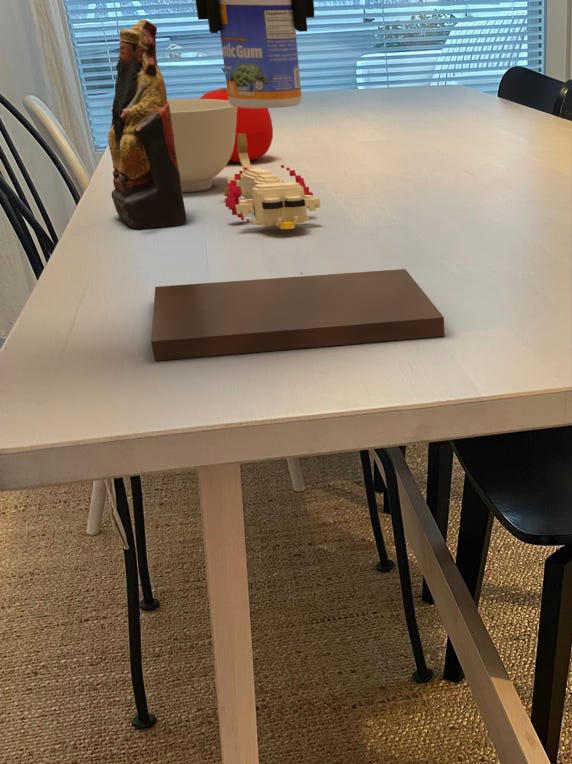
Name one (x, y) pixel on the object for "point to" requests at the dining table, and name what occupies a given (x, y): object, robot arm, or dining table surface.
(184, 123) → the bowl
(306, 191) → the axolotl toy
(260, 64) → the pill bottle
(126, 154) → the statue
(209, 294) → the board
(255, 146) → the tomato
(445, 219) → the dining table surface
